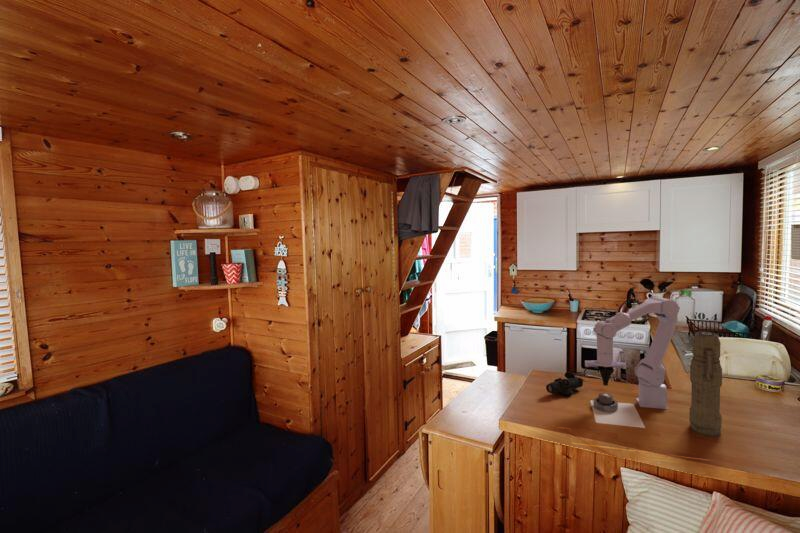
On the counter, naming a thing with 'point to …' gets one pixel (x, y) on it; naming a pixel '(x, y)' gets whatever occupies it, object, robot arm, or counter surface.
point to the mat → (619, 416)
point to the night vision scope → (565, 384)
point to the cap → (605, 399)
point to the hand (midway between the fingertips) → (605, 384)
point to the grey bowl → (605, 406)
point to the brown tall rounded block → (706, 385)
